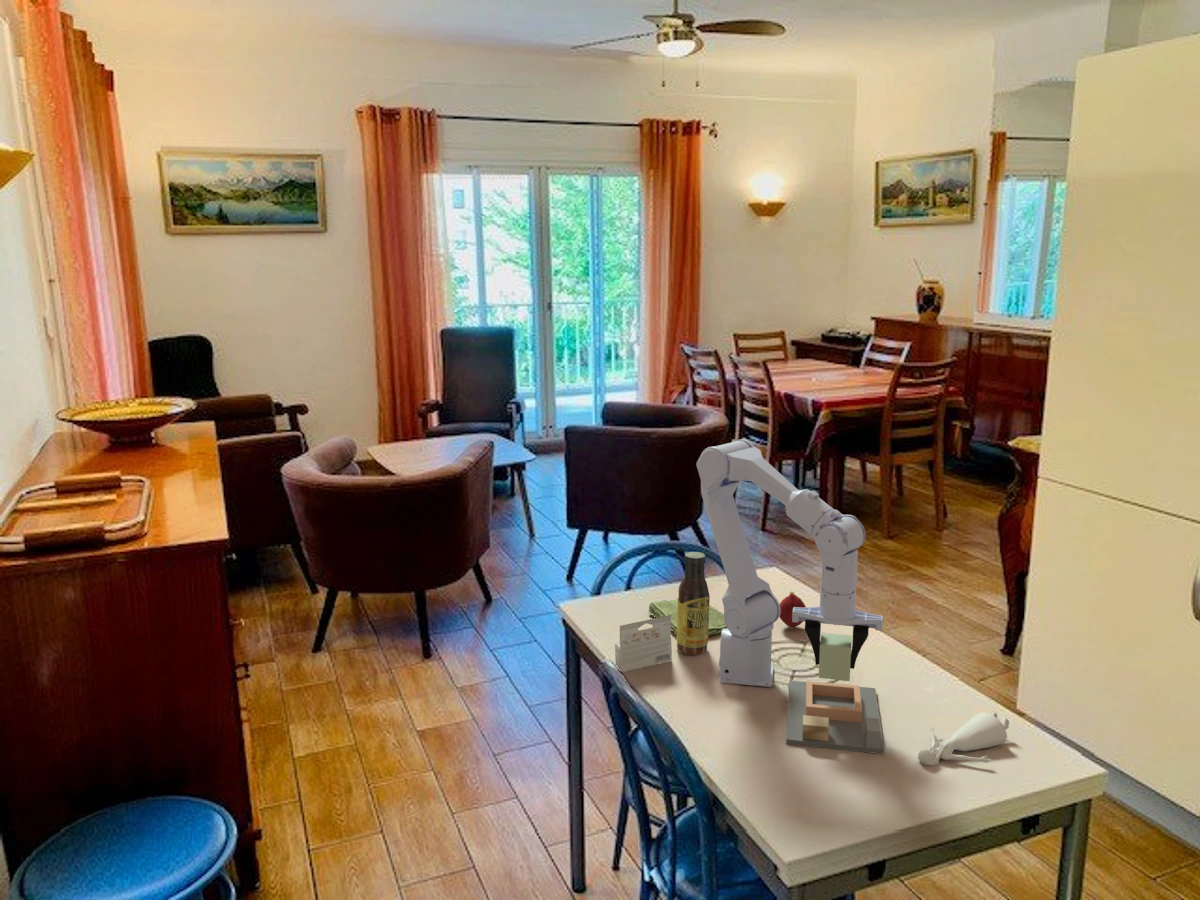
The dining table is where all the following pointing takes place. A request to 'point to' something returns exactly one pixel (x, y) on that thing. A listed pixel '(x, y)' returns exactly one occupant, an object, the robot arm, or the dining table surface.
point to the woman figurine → (967, 739)
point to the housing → (836, 715)
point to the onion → (790, 609)
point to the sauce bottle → (693, 607)
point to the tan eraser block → (815, 728)
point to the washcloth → (672, 609)
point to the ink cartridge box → (644, 644)
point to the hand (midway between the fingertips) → (835, 664)
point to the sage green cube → (835, 656)
